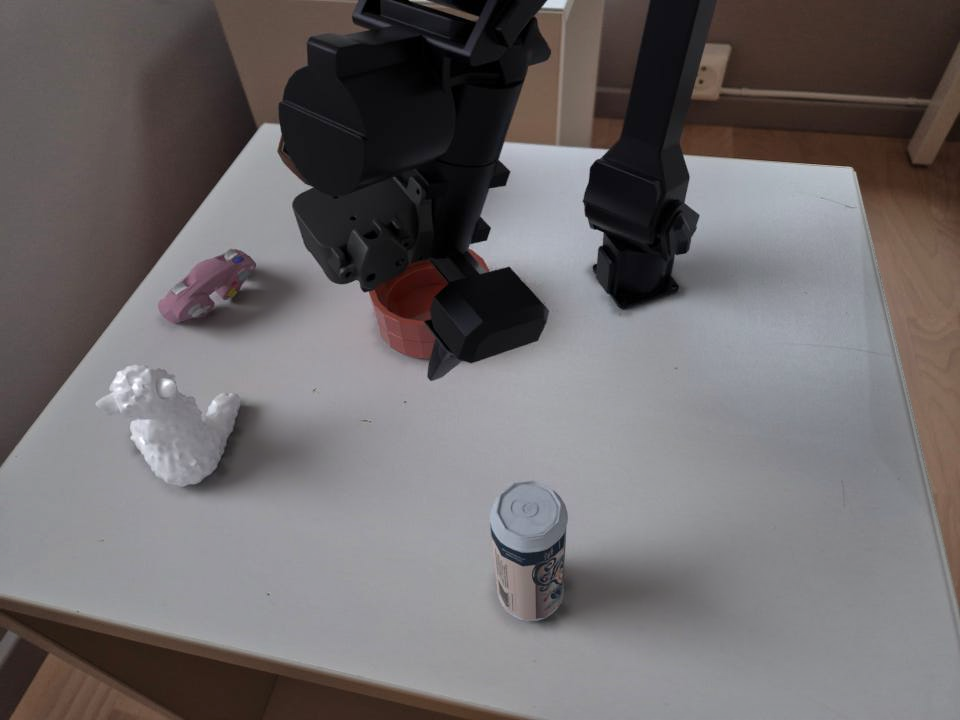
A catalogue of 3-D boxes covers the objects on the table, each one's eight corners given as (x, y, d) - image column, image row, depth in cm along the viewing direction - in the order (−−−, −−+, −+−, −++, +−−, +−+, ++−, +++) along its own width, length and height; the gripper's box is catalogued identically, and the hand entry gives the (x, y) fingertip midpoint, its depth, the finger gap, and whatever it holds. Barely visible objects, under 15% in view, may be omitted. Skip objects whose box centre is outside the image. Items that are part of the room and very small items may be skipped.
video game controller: (185, 344, 75) (180, 314, 68) (154, 312, 75) (146, 280, 69) (262, 289, 79) (265, 257, 73) (233, 259, 80) (233, 224, 73)
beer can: (558, 629, 52) (562, 550, 43) (491, 617, 53) (481, 537, 44) (567, 566, 55) (572, 479, 46) (504, 555, 56) (496, 469, 47)
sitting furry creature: (243, 399, 68) (196, 305, 59) (256, 475, 62) (207, 385, 53) (136, 430, 66) (71, 339, 57) (139, 512, 61) (69, 425, 52)
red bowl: (470, 267, 77) (466, 229, 74) (509, 340, 70) (508, 303, 67) (365, 297, 75) (356, 260, 72) (395, 376, 68) (387, 339, 65)
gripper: (245, 60, 42) (235, 271, 53) (419, 272, 33) (365, 472, 44) (412, 53, 48) (372, 242, 59) (595, 230, 39) (509, 414, 50)
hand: (399, 332), depth 53 cm, fingers open, 9 cm apart
